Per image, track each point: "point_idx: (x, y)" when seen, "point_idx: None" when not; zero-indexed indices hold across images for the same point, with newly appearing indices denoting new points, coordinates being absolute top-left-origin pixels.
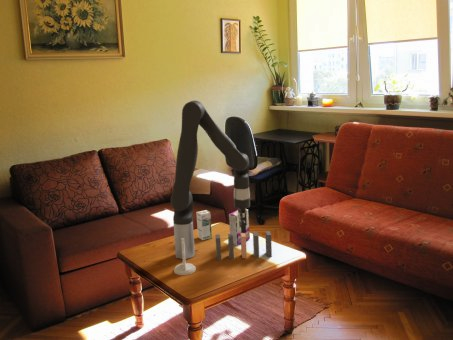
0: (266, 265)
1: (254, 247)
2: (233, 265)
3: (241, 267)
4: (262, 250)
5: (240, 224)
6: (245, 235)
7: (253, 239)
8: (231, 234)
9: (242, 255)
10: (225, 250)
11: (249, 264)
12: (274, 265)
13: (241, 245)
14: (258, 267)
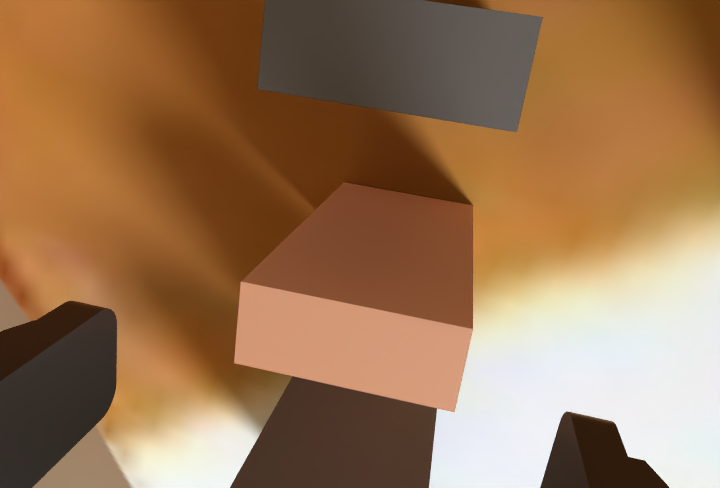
0: None
1: (310, 384)
2: (183, 23)
3: (114, 104)
4: (495, 459)
5: (571, 474)
6: (288, 373)
7: (389, 457)
8: (457, 98)
9: (335, 192)
10: (711, 25)
11: (171, 210)
12: (103, 421)
13: (395, 234)
14: (85, 273)
